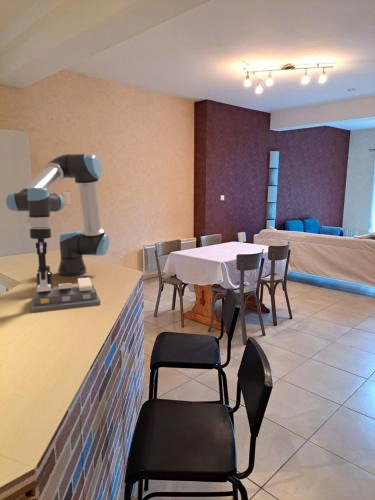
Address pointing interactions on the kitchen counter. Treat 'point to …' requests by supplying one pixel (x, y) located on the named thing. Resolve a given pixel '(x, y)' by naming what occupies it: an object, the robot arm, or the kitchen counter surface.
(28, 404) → the kitchen counter surface
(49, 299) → the switch unit
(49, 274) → the supplement bottle
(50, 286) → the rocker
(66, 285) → the rocker
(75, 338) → the kitchen counter surface
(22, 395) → the kitchen counter surface
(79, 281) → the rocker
